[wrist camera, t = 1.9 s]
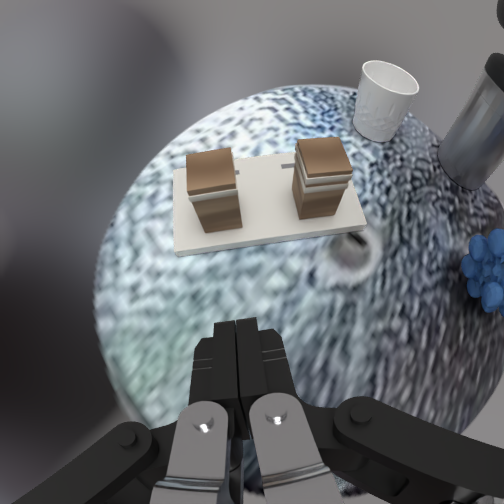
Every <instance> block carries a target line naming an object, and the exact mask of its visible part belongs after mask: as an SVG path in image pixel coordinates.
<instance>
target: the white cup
mask: <svg viewBox="0 0 504 504" xmlns="http://www.w3.org/2000/svg"><path fill="white" fill-rule="evenodd" d="M418 91H419V86H418V83H417V81H416V80H415V79H414V78H413V77H412V76H411V75H410V74H409V73H408V72H406V71H404V70H403V69H401V68H400V67H398V66H395V65H393V64H390V63H387V62H383V61H368V62H366V63H364V65H363V67H362V72H361V77H360V83H359V87H358V93H357V98H356V104H355V113H354V118H353V124H354V127H355V129H356V130H357V131H358V132H359V133H360V134H361V135H362V136H364V137H366V138H368V139H370V140H372V141H376V142H381V143H382V142H387V141H390V140H391V139H392V138H393V137H394V135H395V133H396V132H397V130H398V128H399V127H400V125H401V123H402V122H403V120H404V118H405V116H406V114H407V113H408V111H409V109H410V106H411V105H412V103H413V101H414V99H415V97H416V95H417V92H418Z"/></svg>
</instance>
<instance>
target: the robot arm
mask: <svg viewBox="0 0 504 504" xmlns="http://www.w3.org/2000/svg"><path fill="white" fill-rule="evenodd" d="M497 17H498V21H499V23H500V25H501V26H502V27H503V28H504V0H498V4H497ZM438 158H439V161H440V164H441V165H442V167H443V169H444V170H445V172H446V173H447V174H448V175H449V176H450V178H451V179H452V180H454V181H455V182H456V183H457V184H459V185H460V186H462V187H464V188H466V189H469V190H476V189H478V188H479V187H480V186H481V185H482V184H483V183H484V182H485V181H486V180H487V179H488V178H489V177H490V175H491V174H492V173H493V172H494V171H495V170H496V169H497V167H498V166H499V165H500V164H501V163H502V162H503V161H504V55H503V54H500V53H493V54H491V55H490V57H489V58H488V61H487V62H486V65H485V67H484V69H483V71H482V73H481V75H480V77H479V79H478V81H477V83H476V85H475V87H474V89H473V91H472V92H471V94H470V96H469V98H468V100H467V102H466V103H465V105H464V107H463V109H462V110H461V112H460V114H459V116H458V117H457V119H456V120H455V122H454V124H453V125H452V127H451V129H450V130H449V132H448V134H447V135H446V137H445V138H444V140H443V142H442V143H441V145H440V146H439V149H438ZM249 430H250V434H251V437H252V439H254V442H255V447H256V452H257V457H258V462H259V466H260V471H261V476H262V483H263V489H264V493H265V498H266V502H267V504H344V502H343V499H342V497H341V494H340V491H339V489H338V486H337V484H336V481H335V479H334V476H333V474H332V473H334V474H335V475H337V476H338V477H340V478H342V479H344V480H346V481H347V482H349V483H351V484H353V485H355V486H356V487H358V488H360V489H362V490H364V491H366V492H368V493H370V494H372V495H374V496H376V497H378V498H380V499H382V500H384V501H386V502H388V503H390V504H504V449H502V448H499V447H496V446H492V445H489V444H486V443H483V442H480V441H477V440H474V439H471V438H468V437H466V436H463V435H460V434H457V433H455V432H452V431H449V430H447V429H444V428H441V427H439V426H436V425H434V424H431V423H429V422H426V421H424V420H421V419H419V418H416V417H414V416H412V415H409V414H407V413H405V412H402V411H400V410H398V409H395V408H393V407H391V406H389V405H386V404H384V403H382V402H380V401H378V400H375V399H373V398H370V397H364V396H359V397H353V398H350V399H347V400H345V401H344V402H342V403H341V404H340V405H339V406H338V408H323V407H315V406H311V405H309V404H307V403H305V402H303V401H302V400H301V399H300V398H299V397H298V395H297V394H296V391H295V388H294V384H293V380H292V376H291V372H290V368H289V364H288V361H287V357H286V353H285V349H284V345H283V341H282V337H281V336H280V335H279V334H278V333H277V332H276V331H275V330H274V329H267V330H261V331H258V326H257V319H256V317H253V318H246V319H239V320H236V323H235V320H232V321H225V322H217V323H214V333H213V337H209V338H202V339H201V340H200V342H199V343H198V344H197V346H196V347H195V351H194V361H193V371H192V376H191V385H190V395H189V404H188V407H186V408H185V409H184V410H183V411H182V412H181V413H180V415H179V417H178V420H177V421H175V422H173V423H171V424H169V425H166V426H162V427H159V428H155V429H151V430H149V429H148V428H147V427H146V426H145V425H143V424H141V423H139V422H124V423H121V424H119V425H117V426H116V427H115V428H113V429H112V430H111V431H110V432H108V433H107V434H106V435H105V436H103V437H102V438H101V439H99V440H98V441H97V442H96V443H94V444H93V445H92V446H91V447H90V448H88V449H87V450H85V451H84V452H83V453H81V454H80V455H79V456H77V457H76V458H75V459H74V460H72V461H71V462H70V463H68V464H67V465H66V466H65V467H63V468H62V469H60V470H59V471H57V472H56V473H55V474H53V475H52V476H51V477H49V478H48V479H47V480H45V481H44V482H42V483H41V484H39V485H38V486H37V487H35V488H34V489H32V490H31V491H30V492H28V493H27V494H25V495H24V496H22V497H21V498H20V499H18V500H16V501H15V502H13V503H12V504H243V483H244V458H243V443H242V440H249V439H250V435H249Z"/></svg>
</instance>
